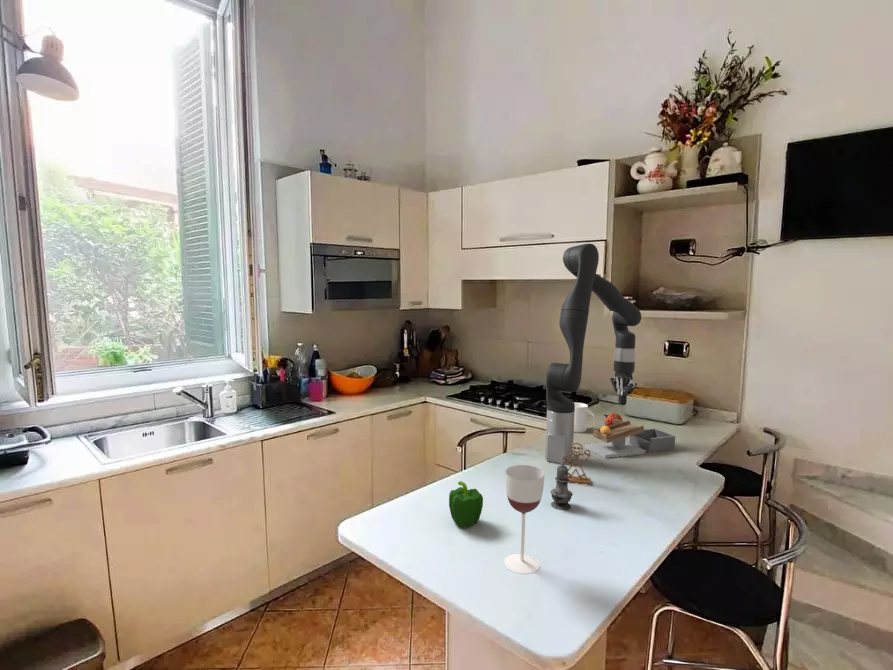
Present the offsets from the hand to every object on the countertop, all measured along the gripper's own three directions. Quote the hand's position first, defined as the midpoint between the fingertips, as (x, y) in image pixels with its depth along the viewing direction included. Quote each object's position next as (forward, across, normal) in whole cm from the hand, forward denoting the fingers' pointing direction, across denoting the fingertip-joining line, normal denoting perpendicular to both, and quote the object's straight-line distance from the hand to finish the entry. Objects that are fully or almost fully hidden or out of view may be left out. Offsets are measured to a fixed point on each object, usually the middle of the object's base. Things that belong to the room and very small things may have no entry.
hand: (622, 404), depth 187 cm
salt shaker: (+15, -41, +52) cm, 68 cm away
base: (+15, -7, +9) cm, 19 cm away
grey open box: (+15, -8, -8) cm, 19 cm away
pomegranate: (+15, +15, -9) cm, 23 cm away
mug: (+15, +18, +6) cm, 24 cm away
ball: (+7, -8, +13) cm, 17 cm away
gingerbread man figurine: (+15, -28, +39) cm, 50 cm away
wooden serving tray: (+9, -4, +7) cm, 12 cm away
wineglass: (+15, -63, +76) cm, 100 cm away
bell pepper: (+15, -43, +81) cm, 92 cm away
